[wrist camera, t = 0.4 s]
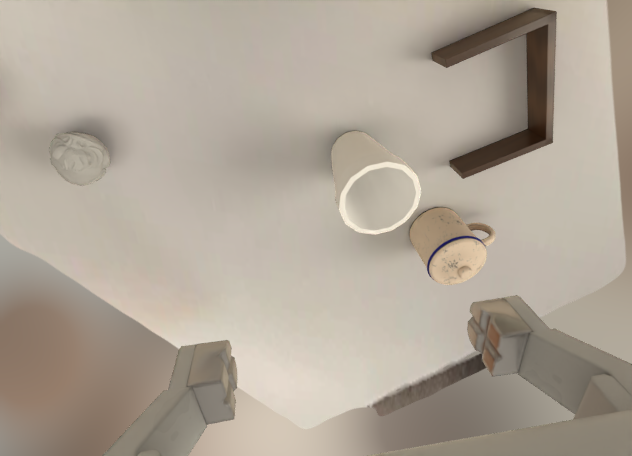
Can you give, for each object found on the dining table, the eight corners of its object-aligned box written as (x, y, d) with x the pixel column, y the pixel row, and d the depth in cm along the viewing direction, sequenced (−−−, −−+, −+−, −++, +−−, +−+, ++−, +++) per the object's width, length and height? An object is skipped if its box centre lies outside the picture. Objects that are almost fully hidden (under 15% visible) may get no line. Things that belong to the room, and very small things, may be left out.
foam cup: (392, 166, 54) (428, 215, 44) (334, 192, 55) (355, 245, 45) (374, 107, 48) (409, 147, 38) (309, 137, 49) (327, 184, 39)
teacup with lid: (412, 256, 65) (440, 305, 56) (402, 217, 60) (432, 264, 50) (477, 232, 64) (517, 278, 55) (474, 190, 59) (517, 233, 49)
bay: (431, 52, 46) (445, 59, 42) (534, 7, 44) (556, 11, 41) (450, 166, 56) (462, 179, 52) (534, 132, 54) (552, 142, 51)
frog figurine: (120, 125, 45) (102, 148, 39) (115, 175, 48) (98, 203, 43) (63, 109, 43) (35, 131, 37) (62, 162, 46) (37, 190, 41)
